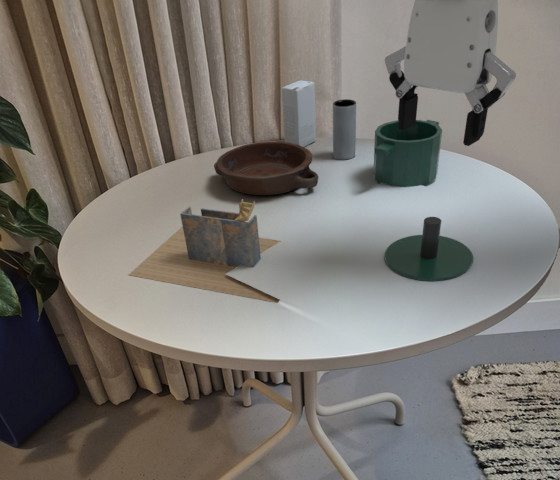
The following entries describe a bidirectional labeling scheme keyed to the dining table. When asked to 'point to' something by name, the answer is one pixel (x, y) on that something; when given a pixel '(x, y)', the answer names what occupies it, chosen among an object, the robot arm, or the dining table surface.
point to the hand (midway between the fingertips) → (438, 135)
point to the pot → (407, 153)
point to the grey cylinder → (344, 129)
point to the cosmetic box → (299, 113)
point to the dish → (267, 168)
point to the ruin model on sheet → (210, 252)
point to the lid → (429, 255)
